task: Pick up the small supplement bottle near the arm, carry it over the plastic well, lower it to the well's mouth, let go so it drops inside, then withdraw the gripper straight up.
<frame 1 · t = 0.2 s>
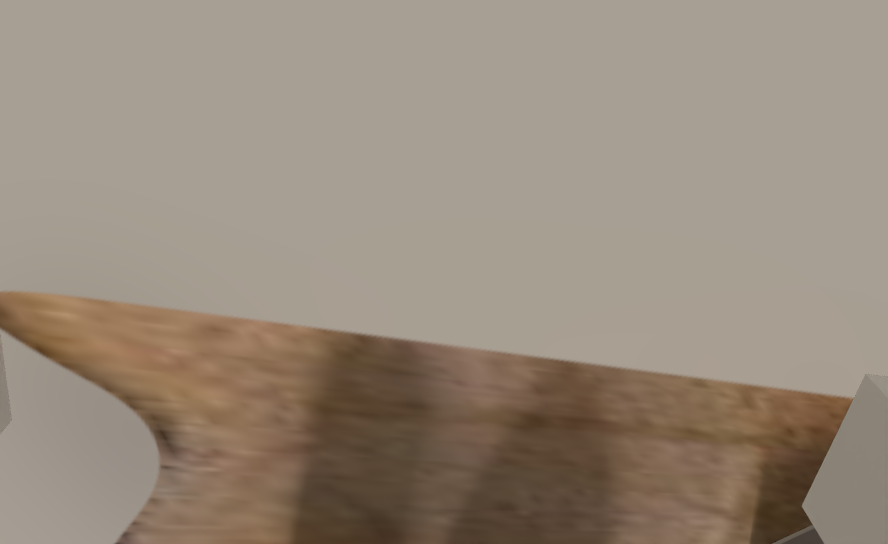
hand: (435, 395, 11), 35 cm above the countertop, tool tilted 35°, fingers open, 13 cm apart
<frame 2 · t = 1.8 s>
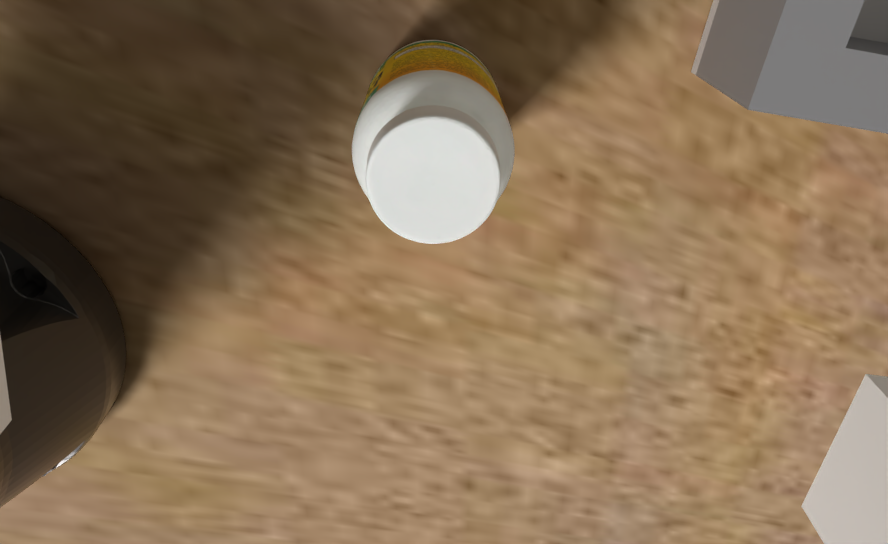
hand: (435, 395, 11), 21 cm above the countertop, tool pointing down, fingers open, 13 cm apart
supplement bottle: (433, 103, 30), on the countertop
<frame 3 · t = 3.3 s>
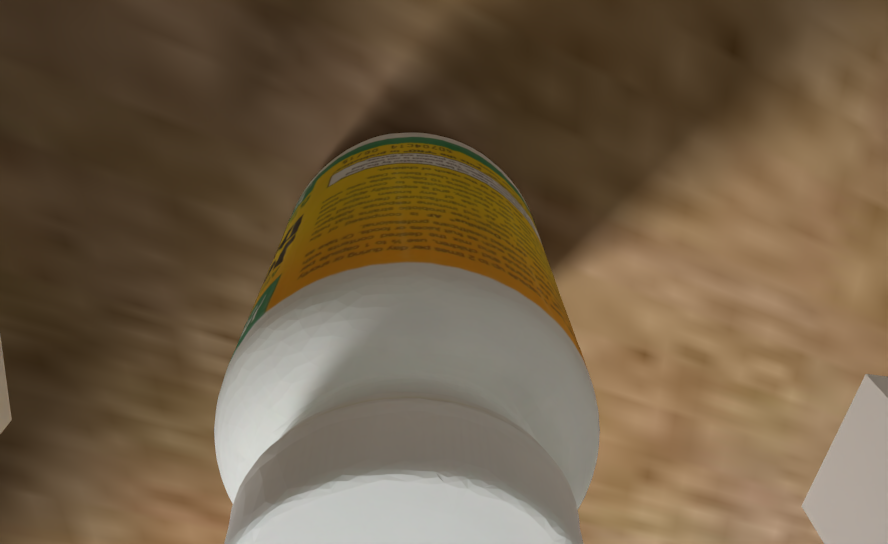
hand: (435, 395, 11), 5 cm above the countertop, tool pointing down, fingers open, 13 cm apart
supplement bottle: (413, 239, 17), on the countertop
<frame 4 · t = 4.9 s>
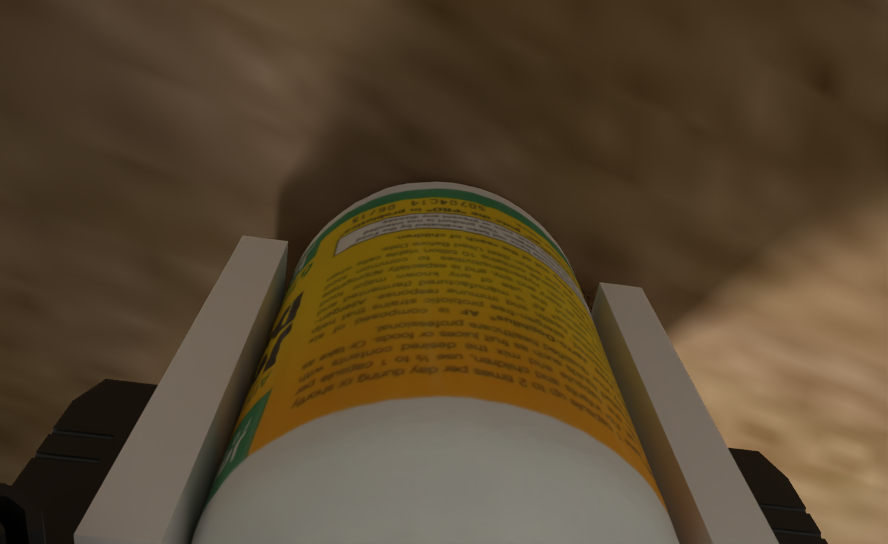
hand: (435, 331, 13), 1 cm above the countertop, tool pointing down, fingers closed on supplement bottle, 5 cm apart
supplement bottle: (434, 302, 14), on the countertop, touching gripper
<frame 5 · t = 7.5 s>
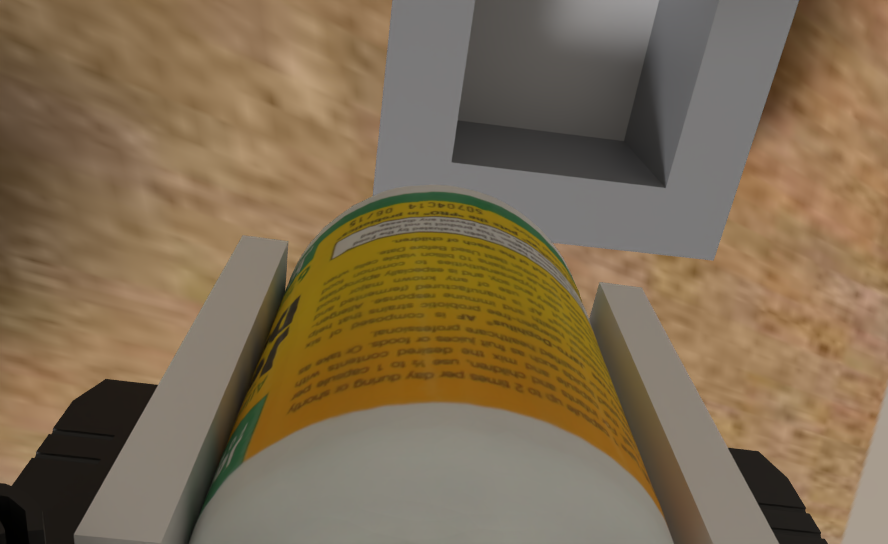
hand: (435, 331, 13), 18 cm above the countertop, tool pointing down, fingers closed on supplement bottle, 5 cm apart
well: (550, 33, 28), on the countertop
supplement bottle: (432, 305, 14), point 17 cm above the countertop, touching gripper
when the fingers open (9 cm above the countertop, at t = 10.1 s): supplement bottle drops 7 cm, resting on well.
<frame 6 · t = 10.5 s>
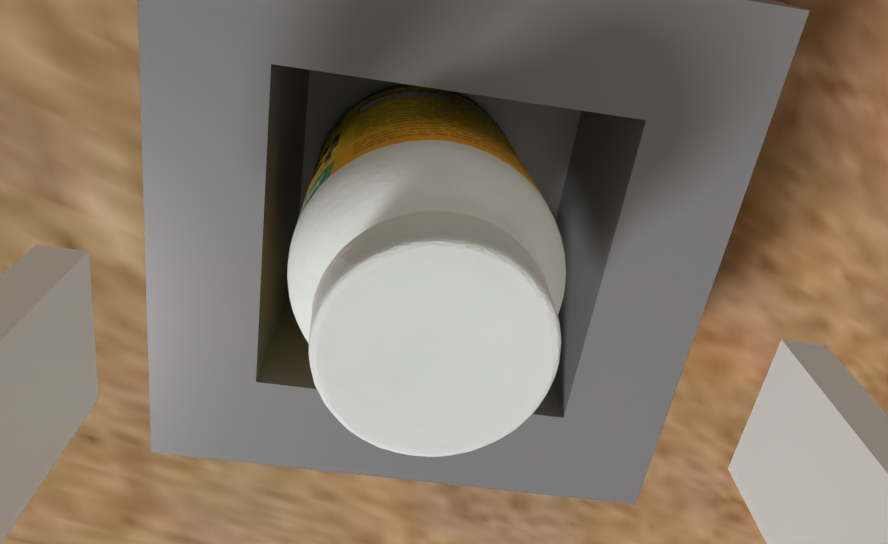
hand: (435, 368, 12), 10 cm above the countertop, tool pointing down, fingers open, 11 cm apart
well: (434, 169, 21), on the countertop
supplement bottle: (415, 173, 20), point 1 cm above the countertop, touching well
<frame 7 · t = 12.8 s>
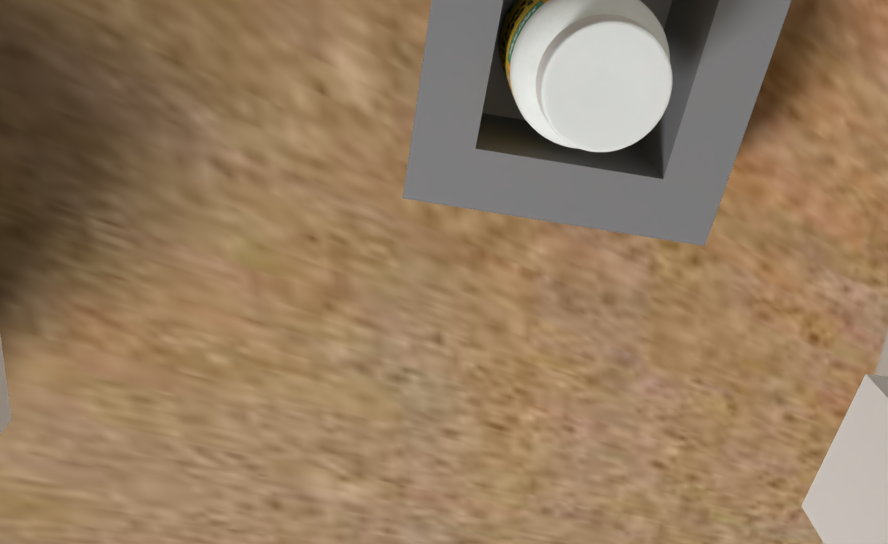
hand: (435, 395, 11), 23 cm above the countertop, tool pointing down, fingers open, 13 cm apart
well: (570, 38, 32), on the countertop
supplement bottle: (560, 38, 31), resting on well
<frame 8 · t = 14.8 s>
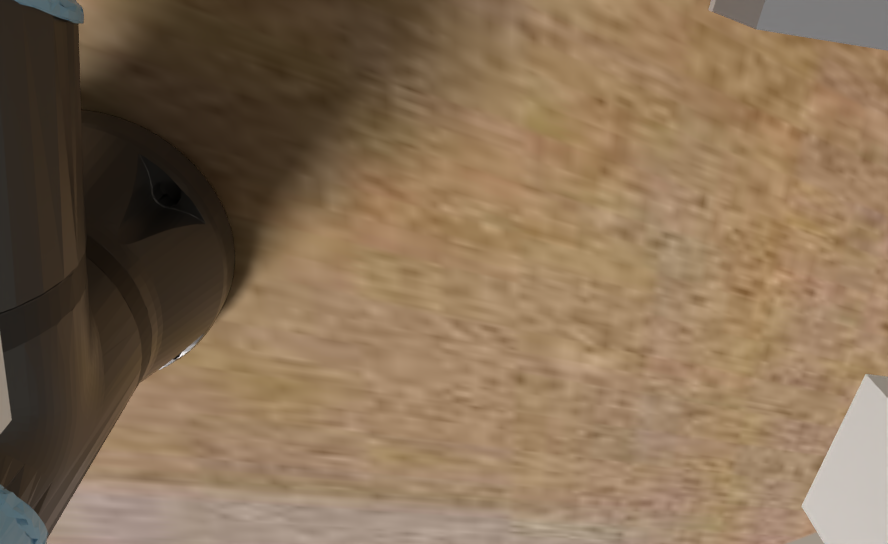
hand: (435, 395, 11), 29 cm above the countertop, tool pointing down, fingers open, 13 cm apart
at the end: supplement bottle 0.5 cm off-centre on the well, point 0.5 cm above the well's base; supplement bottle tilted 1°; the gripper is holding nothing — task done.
